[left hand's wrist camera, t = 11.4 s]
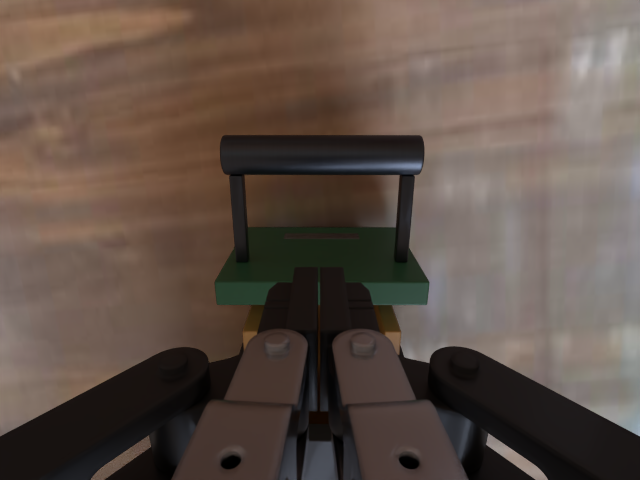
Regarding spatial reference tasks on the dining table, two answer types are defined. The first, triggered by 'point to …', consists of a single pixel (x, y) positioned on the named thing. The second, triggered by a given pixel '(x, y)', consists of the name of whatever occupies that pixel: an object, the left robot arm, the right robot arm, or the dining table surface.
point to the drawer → (322, 242)
